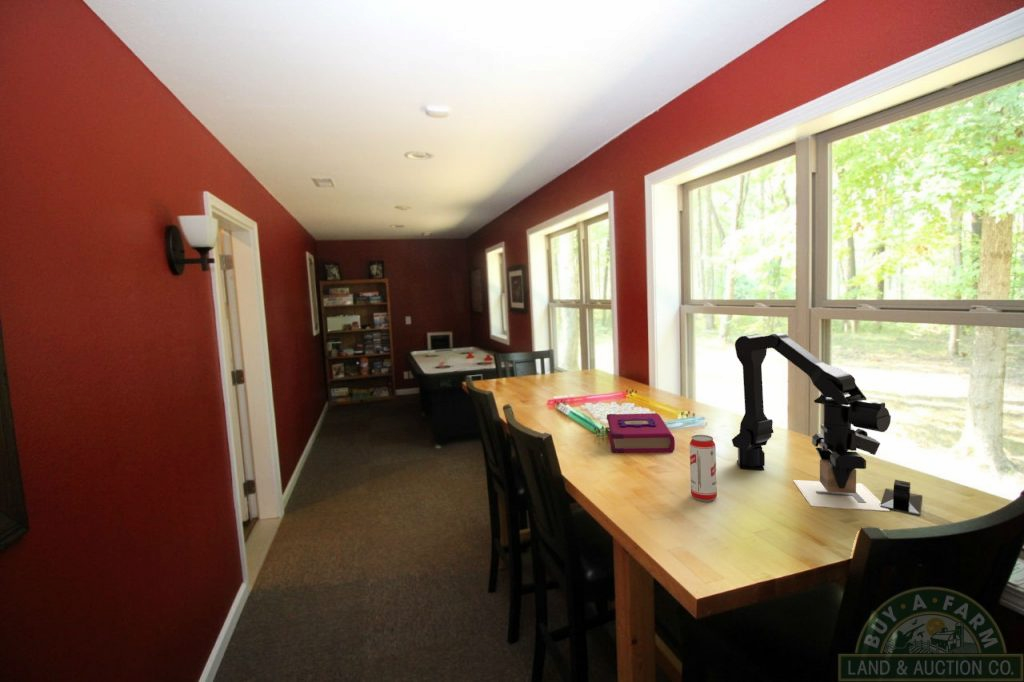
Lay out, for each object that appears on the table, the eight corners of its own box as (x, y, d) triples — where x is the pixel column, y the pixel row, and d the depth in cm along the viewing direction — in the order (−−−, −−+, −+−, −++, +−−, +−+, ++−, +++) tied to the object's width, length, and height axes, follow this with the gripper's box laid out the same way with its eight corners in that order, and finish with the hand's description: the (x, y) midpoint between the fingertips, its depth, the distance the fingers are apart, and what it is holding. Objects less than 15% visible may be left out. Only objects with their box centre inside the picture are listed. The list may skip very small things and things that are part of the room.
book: (661, 430, 183) (660, 411, 182) (675, 454, 156) (674, 431, 155) (607, 431, 186) (606, 412, 186) (611, 454, 159) (610, 433, 158)
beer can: (715, 493, 123) (714, 434, 121) (718, 503, 117) (716, 441, 115) (690, 491, 125) (688, 433, 123) (691, 501, 119) (689, 440, 118)
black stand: (919, 515, 105) (920, 496, 104) (878, 507, 110) (879, 488, 109) (922, 496, 114) (922, 478, 113) (884, 489, 119) (884, 471, 118)
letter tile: (810, 506, 112) (810, 504, 112) (792, 480, 128) (792, 479, 128) (890, 511, 108) (890, 510, 107) (861, 484, 123) (861, 483, 123)
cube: (827, 491, 116) (827, 468, 115) (819, 481, 121) (819, 459, 120) (855, 493, 114) (856, 470, 113) (846, 482, 119) (846, 460, 119)
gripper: (893, 434, 105) (892, 501, 106) (859, 413, 122) (859, 471, 124) (836, 433, 108) (836, 497, 109) (811, 413, 126) (811, 468, 127)
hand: (837, 483), depth 117 cm, fingers closed on cube, 6 cm apart
